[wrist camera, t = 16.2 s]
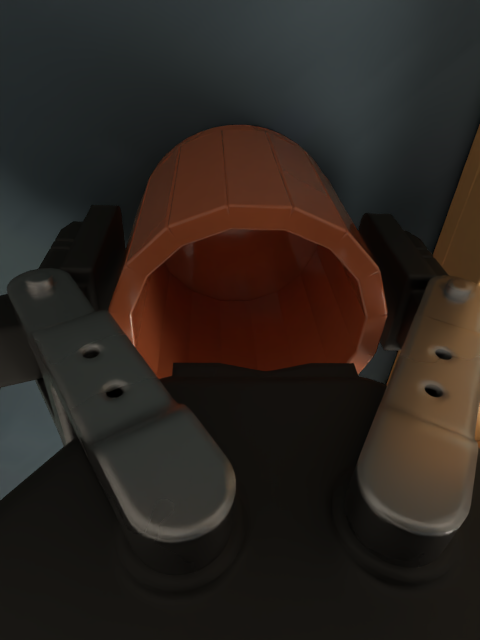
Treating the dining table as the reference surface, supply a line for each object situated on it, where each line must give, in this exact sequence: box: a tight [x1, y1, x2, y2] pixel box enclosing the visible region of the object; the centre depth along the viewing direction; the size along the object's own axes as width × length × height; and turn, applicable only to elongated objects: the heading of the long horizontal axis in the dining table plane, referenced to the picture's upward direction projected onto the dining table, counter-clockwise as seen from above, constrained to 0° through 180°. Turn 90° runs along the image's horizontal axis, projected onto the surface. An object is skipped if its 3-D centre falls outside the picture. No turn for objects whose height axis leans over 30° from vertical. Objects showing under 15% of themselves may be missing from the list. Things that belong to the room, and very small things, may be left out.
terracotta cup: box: [108, 125, 388, 379], centre depth 12 cm, size 6×6×6 cm
